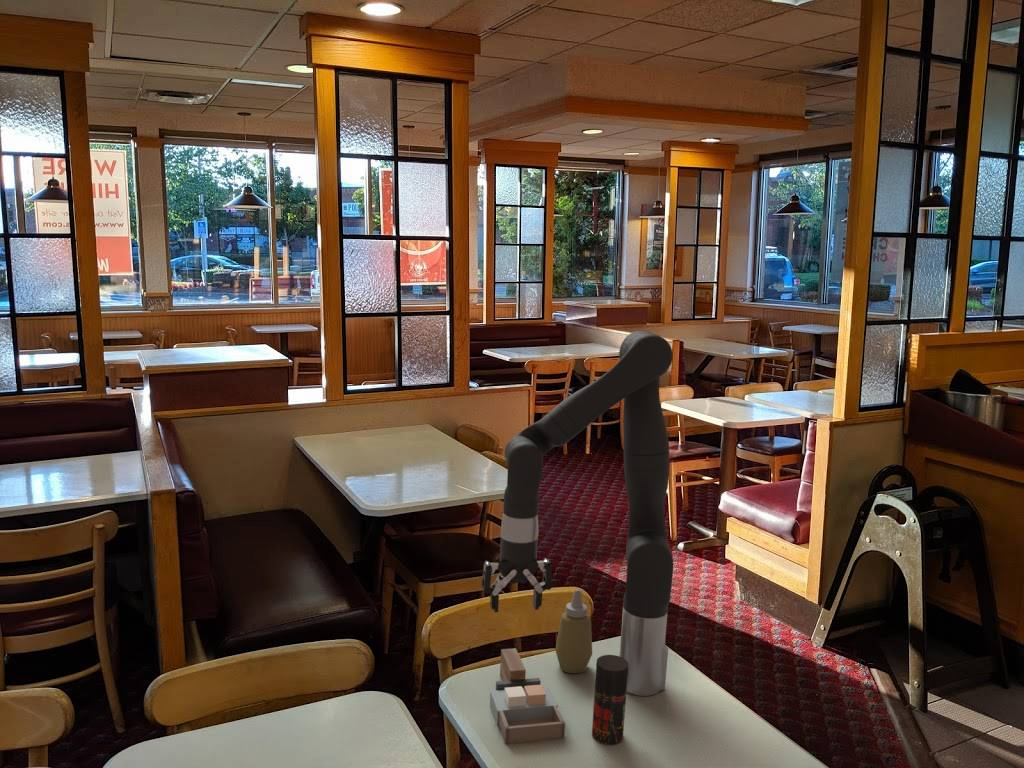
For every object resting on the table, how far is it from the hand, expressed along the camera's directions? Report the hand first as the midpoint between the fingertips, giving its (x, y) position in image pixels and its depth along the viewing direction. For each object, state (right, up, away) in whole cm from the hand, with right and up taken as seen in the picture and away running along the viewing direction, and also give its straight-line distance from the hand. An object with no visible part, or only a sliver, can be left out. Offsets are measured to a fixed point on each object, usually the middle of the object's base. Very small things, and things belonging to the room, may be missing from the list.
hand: (515, 609), depth 166 cm
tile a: (+4, -16, -7) cm, 18 cm away
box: (+3, -20, -13) cm, 24 cm away
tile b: (0, -16, -8) cm, 18 cm away
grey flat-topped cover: (+1, -19, -7) cm, 20 cm away
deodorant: (+17, -21, -13) cm, 30 cm away
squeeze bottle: (+13, -16, +11) cm, 23 cm away
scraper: (-1, -17, +3) cm, 17 cm away
